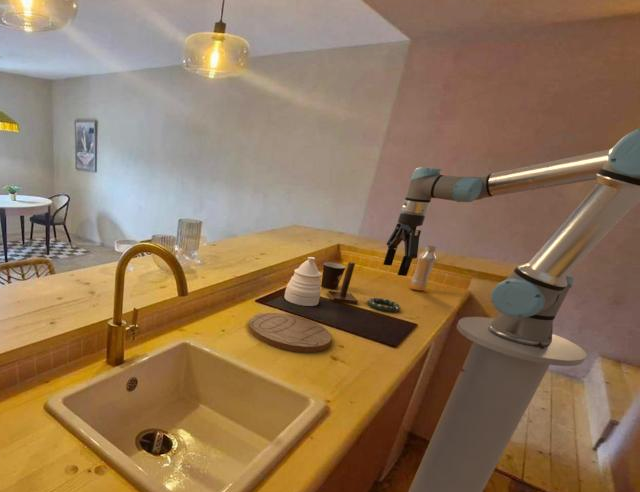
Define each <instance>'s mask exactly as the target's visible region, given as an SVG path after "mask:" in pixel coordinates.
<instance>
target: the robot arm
mask: <svg viewBox="0 0 640 492" xmlns="http://www.w3.org/2000/svg"><path fill="white" fill-rule="evenodd" d="M441 172H442V169H441V168H437V167H424V166H423V167H420V166H419V167H417V168H415V169H414V171H413V174H412V177H411V179H410V180H409V184H408V189H407V191H406V195H405V198H404V201H403V202H402V203H401V205H402V207H401V212H400V213H399V215H398V219H397V223H396V226H395V228H394V229H393V231H392V233H391V235H390V236H389V238H388V240H387V242H386V246H387V252H386V254H385V257H384V260H383V266H390V267H391V266H392V265H393V262H394V260H395V257H396V253H397V249H398V246H399V245H400V244H401V243H402V242H404V243H403V244H404V255H403V256H402V259H401V263H400V266H399V268H398V271H397V276H400V277H401V276H402V277H407V276H408V273H409V270H410V267H411V264H412V262H413V260H414V259H418V255H419V254H418V253H419V243H420V236H421V233H422V229H421V230H420V229H417V227H421V226H423V224H424V221H425V219H426V215H427V213H428V210H429V209H430V208H429V207H430V205H431V202H432V199H438V200H446V201H452V202H453V201H454V202H457V203H472V202H474V201H477V200H482V199H486V198H492V197H497V196H504V195H510V194H515V193H521V192H527V191H533V190H539V189H546V188H552V187H553V188H554V187H558V186H564V185H565V186H566V185H570V184H576V183H582V182H589V181H595V180H597V183H596V184H595V186H594V187H593V188H592V189H591V190H590V191H589V193H587V195H586V196H585V197H584V198H583V200H582V201H581V202H580V203H579V205H577V206H576V208H575V209H573V211H572V212H571V213H570V214H569V216H568V217H567V218H566V219H565V220H564V221H563V223H561V225H560V226H559V227H558V228H557V230H556V231H555V232H554V233H553V234H552V235H551V236H550V238H549V239H548V240H547V241H546V242H545V244H544V245H543V246H542V247H541V248H540V249H539V250H538V251H537V252H536V254H535V255H534V256H533V257H531V258H532V259H531V260H529V261H528V262H527V263H521V264H518V265H517V266H516V267H515V269H513V271H512V272H511V273H510V274H509V275H508V277H507V278H506V279H504V280H502V281H500V282H499V283H497V284H496V285H495V286H494V287H493V288H492V291H491V293H490V301H491V304H492V306H493V307H494V308H495V309H496V310H497V312H499V314H498V315H497V316H496V317H495V318H494V321H492V322H491V323H490V325H489V327H488V330H489V331H490V332H491V333H492V334H494V335H496V336H498V337H500V338H503V339H505V340H508V341H511V342H515V343H518V344H522V345H527V346H533V347H541V349H544V347H548V346H550V344H551V342H552V334H553V327H554V326H553V323H554V320H555V318H556V316H557V314H558V313H559V310H560V308H561V307H562V304H563V303H564V300H565V299H566V296H567V295H568V292H569V291H570V289H571V288H572V287H573V282H574V277H573V276H572V275H571V274H570V273H571V272H572V271H573V270H574V269H575V268H576V267H577V266H578V265H579V264H580V263H581V262H582V261H583V260H584V259H585V258H586V257H587V256H588V255H589V253H590V252H591V251H593V249H594V248H595V247H596V246H597V245H598V244H599V243H600V242H601V241H602V240H603V239H604V238H605V237H606V236H607V235H608V234H609V233H610V231H612V229H613V228H614V227H615V226H616V225H617V224H618V223H619V222H620V221H622V219H623V218H624V217H626V215H627V214H628V212H630V211H631V210H632V208H633V207H635V206H636V204H637V203H639V201H640V128H637V129H635V130H633V131H631V132H628V134H627V133H626V135H624V136H623V137H622V138H620V139H619V140H618V141H617V143H616V144H615V145H614V146H613V147H611V148H609V149H605V150H600V151H594V152H590V153H585V154H580V155H574V156H569V157H565V158H561V159H556V160H550V161H545V162H541V163H535V164H532V165H526V166H522V167H521V166H520V167H516V168H511V169H507V170H501V171H497V172H493V173H487V174H481V175H478V176H477V175H476V176H456V175H443V174H442V173H441Z"/></svg>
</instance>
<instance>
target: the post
mask: <svg viewBox="0 0 640 492" xmlns="http://www.w3.org/2000/svg"><path fill="white" fill-rule="evenodd" d="M355 266H356V263H355V262H352V261H348V263H347V265H346V268H345V273H344V277H343V280H342V284H341V288H340V291H333V290H328V291H327V295H328V297H329V298H330V300H331V301H332V302H333V303H341V304H350V305H358V302H359V301H358V299H357V298H356V297H355V296H354V295H353V294H352V293H350V292H348V290H349V287H350V283H351V280H352V277H353V274H354V273H353V272H354V269H355Z"/></svg>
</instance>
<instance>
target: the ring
mask: <svg viewBox="0 0 640 492" xmlns="http://www.w3.org/2000/svg"><path fill="white" fill-rule="evenodd" d="M366 304H367V305H368V306H369V307H370V308H373V309H375V310H376V311H377V310H378V311H381V312H386V313H387V312H388V313H397V312H399V311H400V310H401V305H400V304H398V303H397V302H395V301H393V300H390V299H386V298H379V297H372V298H371V297H370V298H369V299H367V300H366Z"/></svg>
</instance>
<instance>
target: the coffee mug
mask: <svg viewBox="0 0 640 492" xmlns="http://www.w3.org/2000/svg"><path fill="white" fill-rule="evenodd" d="M345 271H346V266H345V265H343V264H341V263H337V262H324V263H323V267H322V276H321V283H320V285H321V288H324V289H328V290H337V289H338V287H339V284H340V282H341V280H342V277H343V275H344V272H345Z"/></svg>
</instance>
